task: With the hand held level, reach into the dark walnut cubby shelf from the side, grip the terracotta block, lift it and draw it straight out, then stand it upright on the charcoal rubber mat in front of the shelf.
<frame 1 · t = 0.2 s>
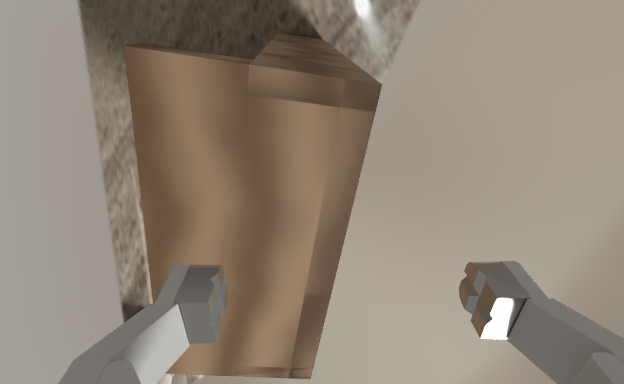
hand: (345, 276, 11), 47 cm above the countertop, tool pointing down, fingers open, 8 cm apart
shelf: (270, 115, 56), on the countertop
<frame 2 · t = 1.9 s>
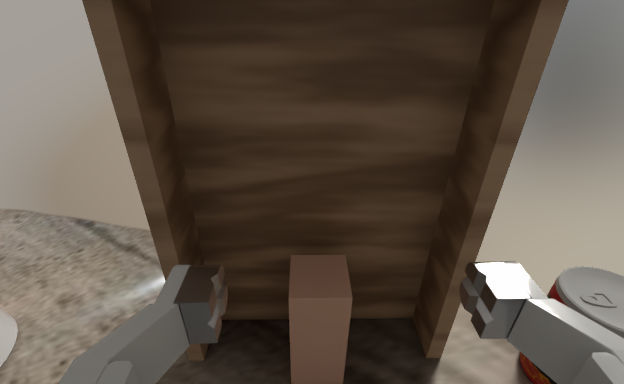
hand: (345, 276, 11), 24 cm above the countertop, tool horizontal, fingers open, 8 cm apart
shelf: (316, 359, 33), on the countertop
block: (317, 321, 30), in the shelf
canned food: (560, 374, 33), on the countertop
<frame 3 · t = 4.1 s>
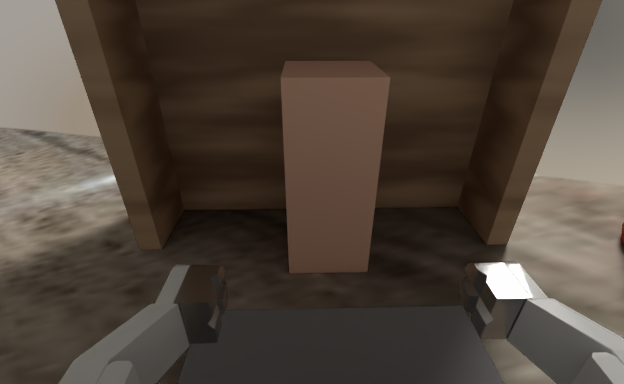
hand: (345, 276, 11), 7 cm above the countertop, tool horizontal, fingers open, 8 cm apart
shelf: (325, 246, 23), on the countertop
block: (328, 171, 20), on the countertop
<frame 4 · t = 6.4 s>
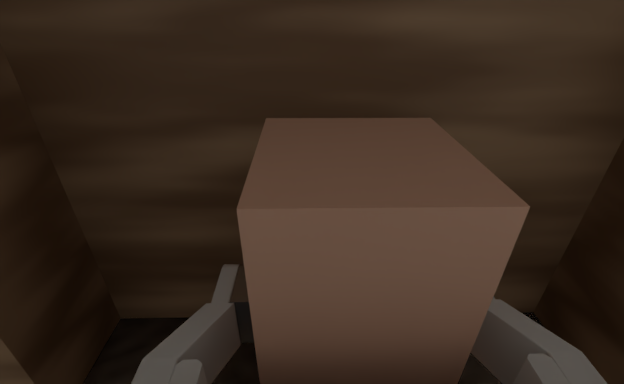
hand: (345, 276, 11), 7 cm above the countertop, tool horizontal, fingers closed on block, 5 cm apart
block: (346, 319, 11), on the countertop, touching gripper
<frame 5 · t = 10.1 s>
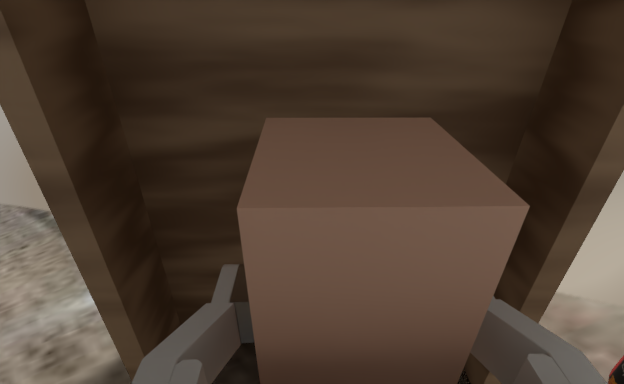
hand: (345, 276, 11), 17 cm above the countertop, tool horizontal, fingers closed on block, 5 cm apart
block: (346, 319, 11), point 16 cm above the countertop, touching gripper
when the fingers open (9 cm above the countertop, at t = 13.5 s): block drops 1 cm, resting on mat.
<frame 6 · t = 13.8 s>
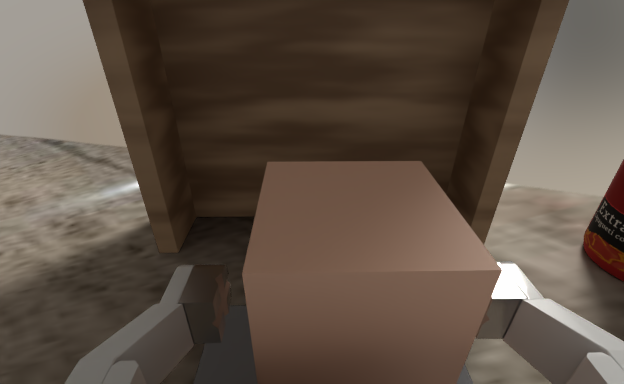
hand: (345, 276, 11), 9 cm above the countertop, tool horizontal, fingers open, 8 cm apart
shelf: (322, 251, 26), on the countertop
block: (342, 346, 11), on the mat, point 7 cm above the countertop
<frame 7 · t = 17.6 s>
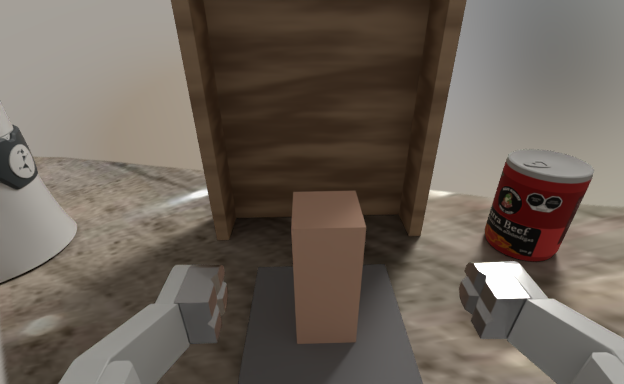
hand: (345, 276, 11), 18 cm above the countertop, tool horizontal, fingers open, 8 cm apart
shelf: (319, 238, 41), on the countertop
mat: (325, 324, 30), on the countertop
block: (325, 269, 27), on the mat, point 7 cm above the countertop
canned food: (517, 243, 40), on the countertop
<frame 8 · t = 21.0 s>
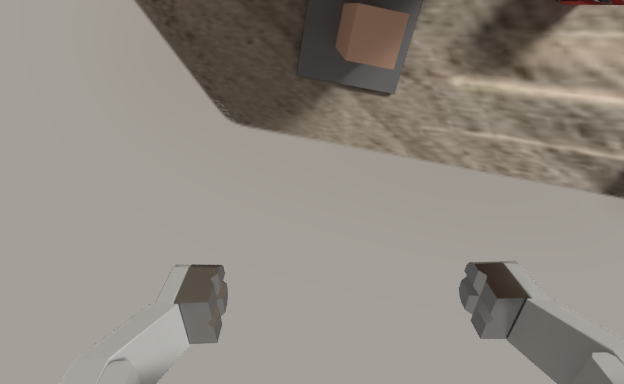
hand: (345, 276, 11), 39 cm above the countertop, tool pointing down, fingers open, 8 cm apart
mat: (358, 29, 42), on the countertop
block: (366, 33, 36), on the mat, point 7 cm above the countertop
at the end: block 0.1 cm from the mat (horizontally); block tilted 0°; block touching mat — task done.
